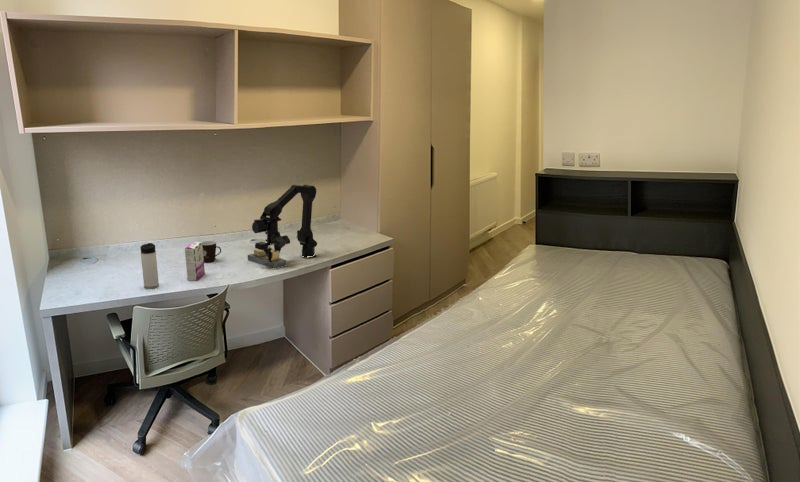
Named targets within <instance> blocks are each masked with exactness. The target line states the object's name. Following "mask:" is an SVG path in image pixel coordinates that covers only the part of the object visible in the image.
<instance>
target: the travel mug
mask: <svg viewBox="0 0 800 482" xmlns="http://www.w3.org/2000/svg"><path fill="white" fill-rule="evenodd" d="M139 247H140V257H141V258H140V259H141V267H142V268H141V269H142V270H141V271H142V278H143V279H142V280H143V288H144V289H148V290H151V289H152V290H153V289H156V288H158V287H159V286H160V284H159V274H158V259H157V250H156V245H155V243H153V242H149V243H145V244H142V245H141V246H139Z"/></svg>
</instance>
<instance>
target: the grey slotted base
mask: <svg viewBox="0 0 800 482" xmlns="http://www.w3.org/2000/svg"><path fill="white" fill-rule="evenodd" d="M247 261H249V262H252V263H255V264H258V265H260V266H263V267H267V268H269V269H273V268H274V270H276V269H279V268H278V267H280V268H282V267H281V266H283V267H286V266H287V259H284V258H281V257H280V260H277V261H274V262H272V261H268V260H267V255H266V256H263V257H256V256H254V252H253V253H250V254H247ZM285 265H286V266H285ZM275 268H276V269H275Z"/></svg>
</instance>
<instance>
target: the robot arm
mask: <svg viewBox="0 0 800 482" xmlns="http://www.w3.org/2000/svg"><path fill="white" fill-rule="evenodd" d="M298 194H300V197H301V199H302V210H301V211H302V214H301V215H302V216H301V227H300V228H299V230H296V238H297V241H298V242H299V245H300V246H301V248H302V249H301V255H302V256H304V257H307V256H313V255H314V254H315V255H316V253H315V249H316V247H317V246H318V242H317V241H316V239H315V238H314V232H313V231H312V214H313V213H312V212H313V211H312V210H313V202H314V200H315V199H316V195H317V188H316V187H315V186H314V185H309V184H306V183H305V184H303V185H301V184H300V185H299V184H292V185H291V186H290V187H289V188H288V189H287V190H286V191H285V192H284V193H283V194H281V196H280V197H279V198H278V199H277V200H275V201H272V202H270V203H269V204H268V205H266V206H264V209H263V212H262V213H261V216H260V217H259V218H258V219H254V220H253V222H252V225H251V230H252V232H253V233H254V234H259V233H265V235H266V238H265V242H264V241H257V242H256V243H255V244H254V248H255V250H257V249H260V250H264V252H265V253H266V255H267V257H268V259H269V260H271V250H272V249H273V248H274V249H275V250H278V251H279V254H280V253H281V251H282V249H283V248H284V247H285V246H286V245H288V244H290V243H291V239H290V237H289V236H288V235H286V234H285V235H281V232H280V231H279V222H281V221H282V218H280V217H279V216H280V214H281V213H282V211H283V209H284V207H286V206H287V204H288V203H289V202H290V201H291V200H292V199H294V198H295V197H296V196H297V195H298ZM271 246H273V248H272V247H271ZM304 257H303V258H304Z"/></svg>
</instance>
